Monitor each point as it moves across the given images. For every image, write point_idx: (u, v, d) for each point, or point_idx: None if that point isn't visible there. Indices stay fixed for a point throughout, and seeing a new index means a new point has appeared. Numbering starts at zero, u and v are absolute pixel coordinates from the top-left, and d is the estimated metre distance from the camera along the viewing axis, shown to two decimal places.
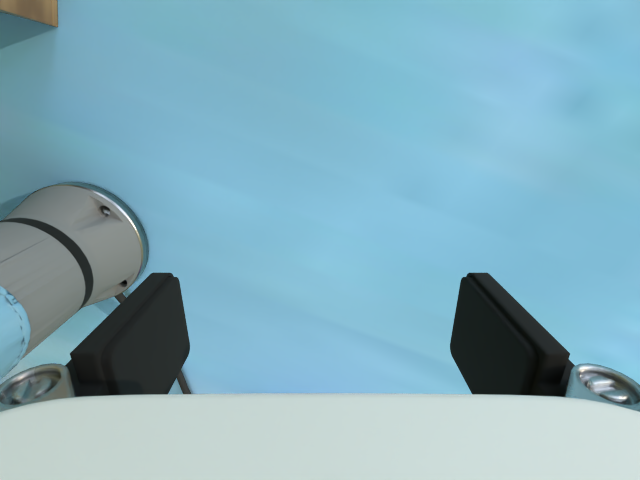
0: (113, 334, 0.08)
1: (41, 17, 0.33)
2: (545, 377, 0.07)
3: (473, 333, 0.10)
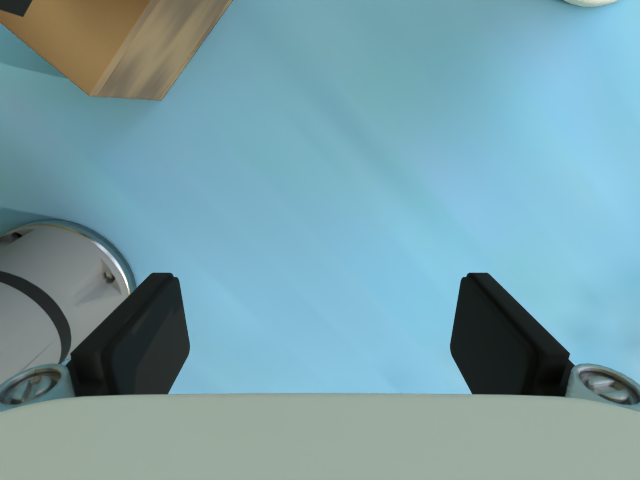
0: (113, 334, 0.08)
1: (153, 96, 0.30)
2: (545, 377, 0.07)
3: (473, 333, 0.10)
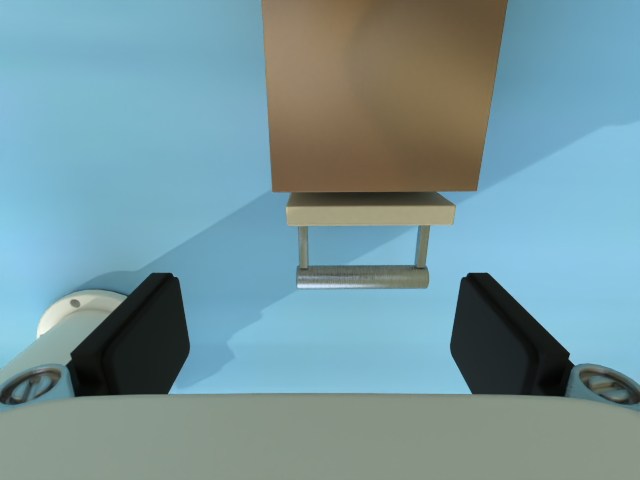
0: (113, 334, 0.08)
1: None
2: (545, 377, 0.07)
3: (473, 333, 0.10)
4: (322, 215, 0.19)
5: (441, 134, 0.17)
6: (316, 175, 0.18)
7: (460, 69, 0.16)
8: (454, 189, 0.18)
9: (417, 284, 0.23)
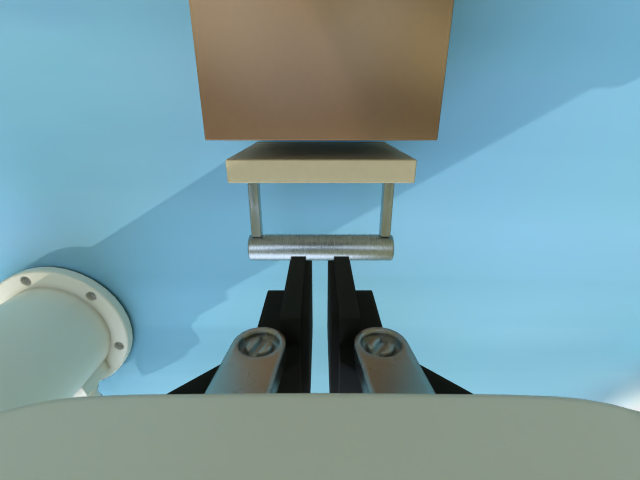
0: (300, 304, 0.09)
1: None
2: (346, 339, 0.08)
3: (328, 309, 0.11)
4: (266, 170, 0.17)
5: (394, 71, 0.15)
6: (254, 120, 0.16)
7: None
8: (411, 137, 0.16)
9: (381, 255, 0.21)
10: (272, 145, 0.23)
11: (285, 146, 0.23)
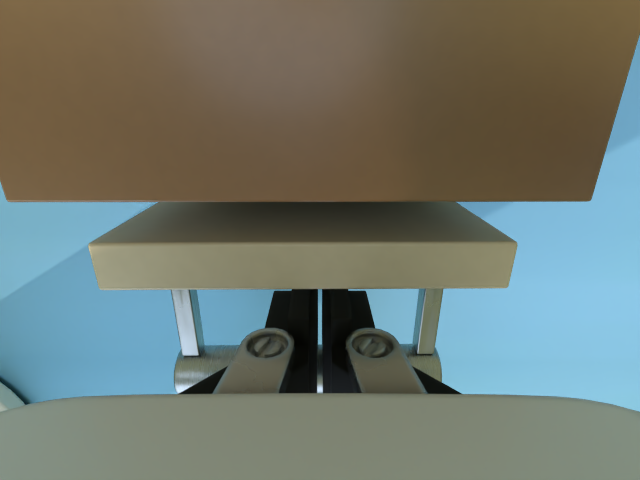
0: (308, 305, 0.09)
1: None
2: (338, 340, 0.08)
3: (322, 309, 0.11)
4: (182, 265, 0.08)
5: (503, 21, 0.05)
6: (125, 153, 0.06)
7: None
8: (529, 196, 0.06)
9: None
10: None
11: None
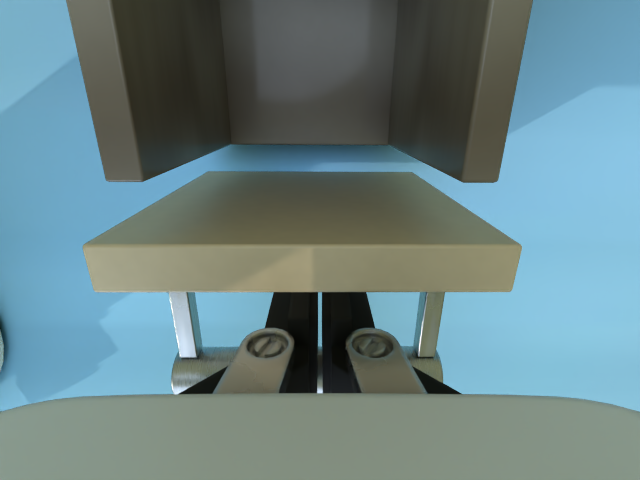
0: (308, 305, 0.09)
1: None
2: (337, 340, 0.08)
3: None
4: (179, 268, 0.08)
5: None
6: None
7: None
8: None
9: None
10: (226, 182, 0.14)
11: (247, 185, 0.13)
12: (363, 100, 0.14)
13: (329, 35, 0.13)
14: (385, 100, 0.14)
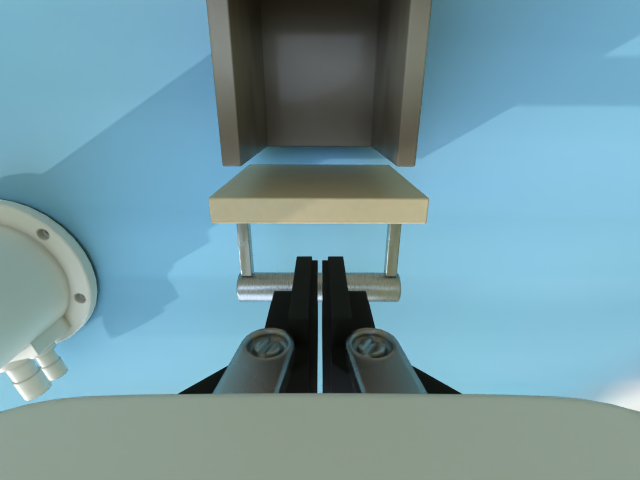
0: (308, 305, 0.09)
1: None
2: (338, 340, 0.08)
3: (322, 309, 0.11)
4: (256, 210, 0.15)
5: None
6: None
7: None
8: None
9: (386, 297, 0.19)
10: (265, 170, 0.21)
11: (279, 172, 0.20)
12: (354, 117, 0.21)
13: (332, 76, 0.20)
14: (368, 117, 0.21)
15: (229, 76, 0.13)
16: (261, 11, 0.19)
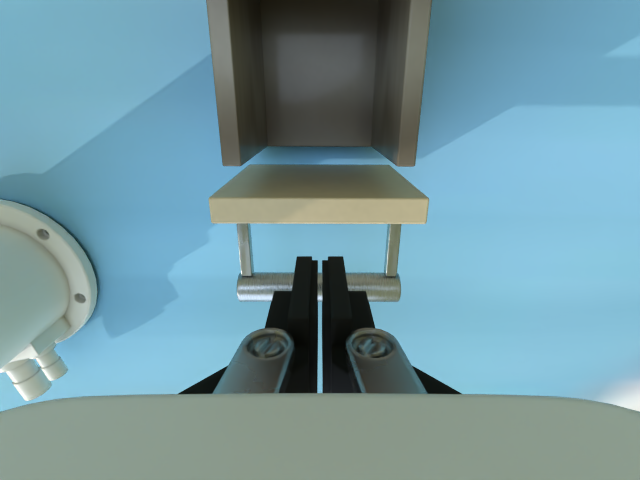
0: (308, 305, 0.09)
1: None
2: (338, 340, 0.08)
3: (322, 309, 0.11)
4: (256, 209, 0.15)
5: None
6: None
7: None
8: None
9: (386, 297, 0.19)
10: (265, 170, 0.21)
11: (279, 172, 0.20)
12: (354, 117, 0.21)
13: (332, 76, 0.20)
14: (368, 117, 0.21)
15: (229, 76, 0.13)
16: (261, 11, 0.19)
